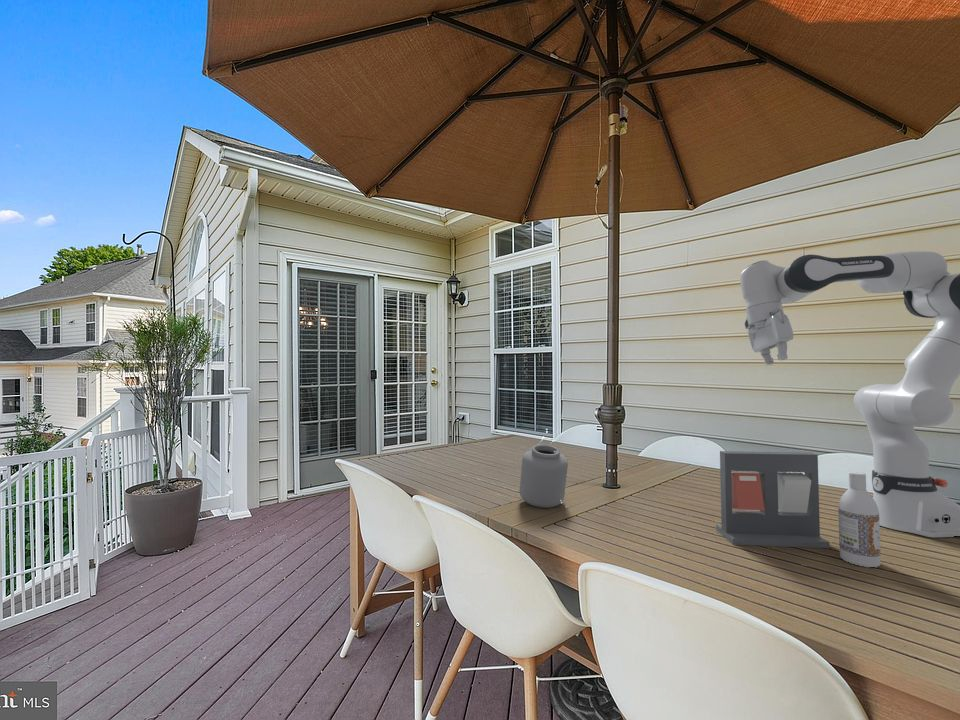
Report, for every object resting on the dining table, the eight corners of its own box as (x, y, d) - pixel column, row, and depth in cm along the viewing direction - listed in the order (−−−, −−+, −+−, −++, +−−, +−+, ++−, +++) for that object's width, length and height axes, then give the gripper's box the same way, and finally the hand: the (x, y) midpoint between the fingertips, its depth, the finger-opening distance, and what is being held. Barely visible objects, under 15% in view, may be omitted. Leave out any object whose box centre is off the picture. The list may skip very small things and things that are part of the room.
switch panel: (804, 532, 114) (802, 449, 115) (829, 548, 105) (826, 457, 105) (716, 529, 117) (714, 448, 118) (732, 544, 107) (730, 456, 108)
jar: (580, 510, 134) (579, 430, 135) (538, 516, 129) (537, 433, 130) (550, 494, 152) (549, 423, 152) (512, 499, 147) (511, 425, 147)
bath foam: (875, 571, 92) (872, 478, 93) (835, 559, 98) (832, 472, 99) (885, 563, 96) (882, 473, 97) (846, 552, 102) (843, 468, 103)
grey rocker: (797, 504, 113) (801, 472, 111) (806, 512, 109) (811, 480, 107) (772, 503, 114) (776, 472, 112) (781, 511, 110) (785, 479, 108)
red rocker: (756, 509, 112) (751, 473, 115) (765, 510, 108) (759, 473, 111) (732, 508, 113) (727, 473, 115) (739, 509, 109) (734, 472, 111)
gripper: (793, 304, 115) (805, 354, 113) (764, 322, 135) (774, 365, 132) (767, 308, 117) (778, 358, 114) (742, 325, 136) (751, 368, 134)
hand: (776, 362), depth 123 cm, fingers open, 8 cm apart
